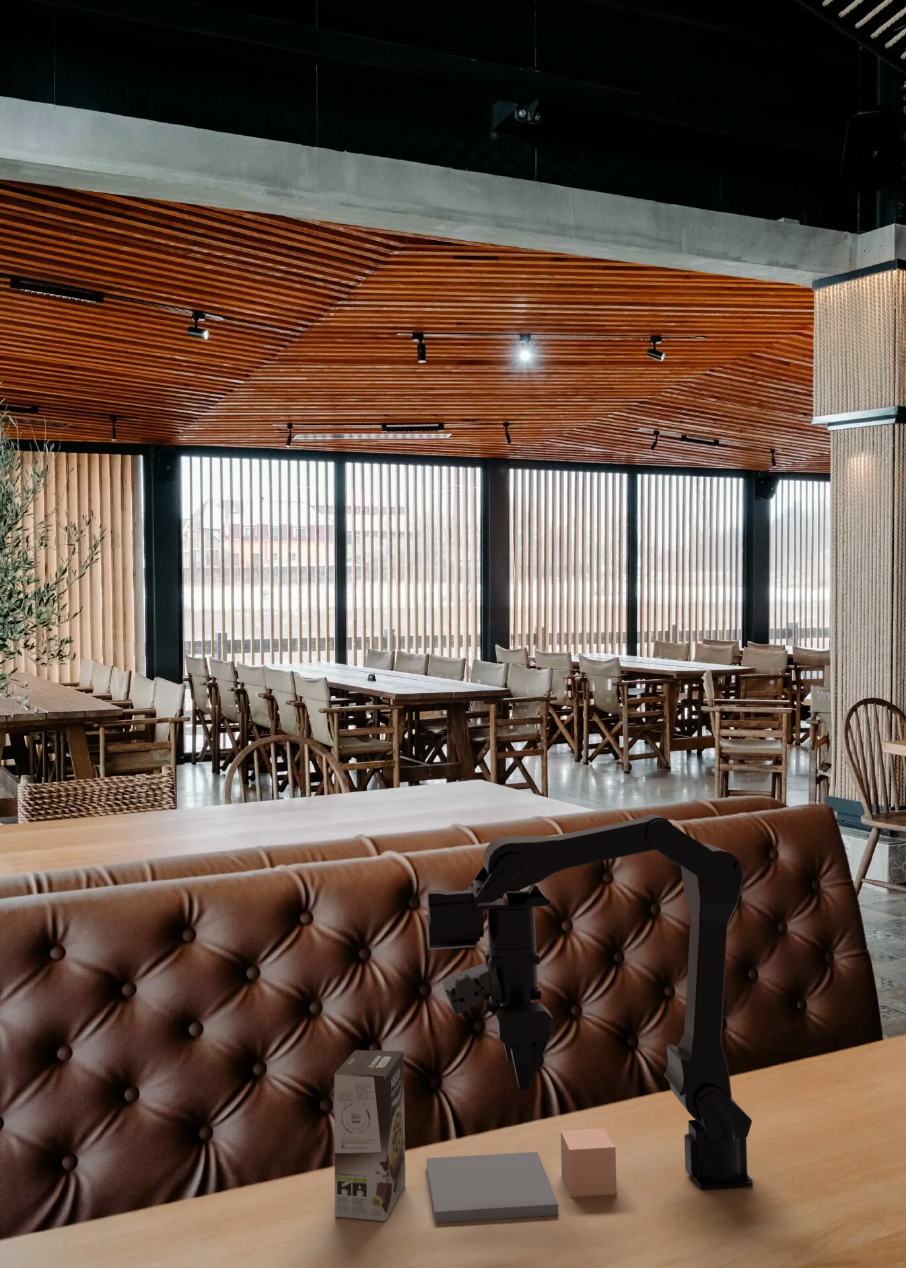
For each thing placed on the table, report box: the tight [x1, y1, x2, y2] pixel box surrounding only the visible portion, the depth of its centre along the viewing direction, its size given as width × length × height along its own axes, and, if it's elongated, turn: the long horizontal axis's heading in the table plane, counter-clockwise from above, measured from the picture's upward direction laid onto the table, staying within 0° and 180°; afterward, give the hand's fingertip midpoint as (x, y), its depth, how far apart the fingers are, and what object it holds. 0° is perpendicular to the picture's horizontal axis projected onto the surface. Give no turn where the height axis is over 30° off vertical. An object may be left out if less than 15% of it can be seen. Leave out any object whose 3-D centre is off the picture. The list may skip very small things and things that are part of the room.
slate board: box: [426, 1151, 559, 1224], centre depth 130 cm, size 14×14×1 cm
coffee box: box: [333, 1049, 406, 1222], centre depth 128 cm, size 9×6×16 cm
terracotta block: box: [560, 1127, 618, 1198], centre depth 131 cm, size 6×6×6 cm
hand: (518, 1075), depth 131 cm, fingers open, 9 cm apart
